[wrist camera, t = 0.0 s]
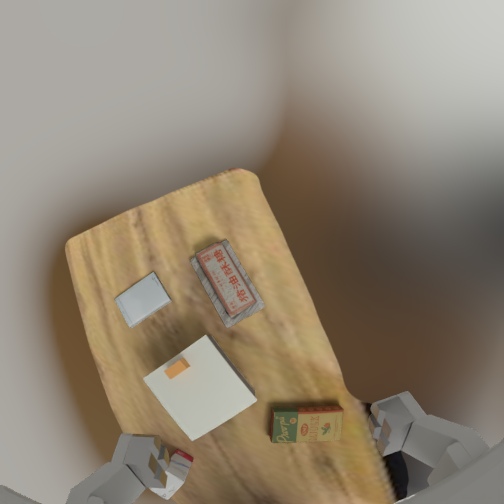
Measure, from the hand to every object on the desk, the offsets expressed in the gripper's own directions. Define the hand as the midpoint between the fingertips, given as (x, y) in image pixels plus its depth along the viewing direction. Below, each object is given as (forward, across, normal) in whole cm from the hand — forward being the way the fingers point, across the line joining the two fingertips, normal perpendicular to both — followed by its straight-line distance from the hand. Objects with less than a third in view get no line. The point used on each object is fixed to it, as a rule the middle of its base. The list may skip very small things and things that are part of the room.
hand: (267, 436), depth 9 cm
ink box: (+34, -23, -52) cm, 66 cm away
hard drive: (+54, -25, -15) cm, 62 cm away
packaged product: (+55, -4, -14) cm, 57 cm away
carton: (+38, +9, -45) cm, 60 cm away
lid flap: (+37, -12, -29) cm, 49 cm away
